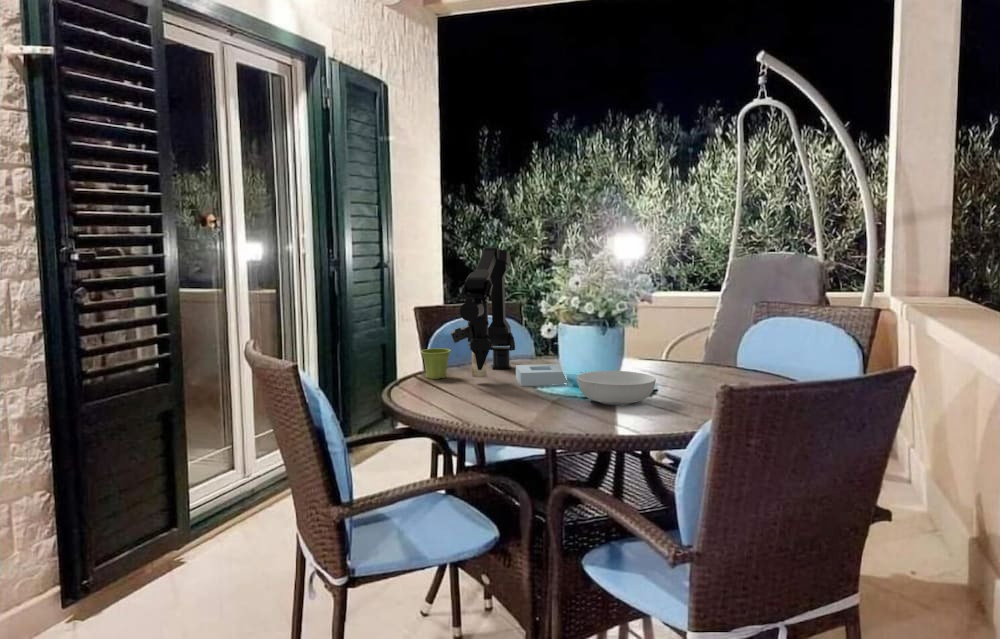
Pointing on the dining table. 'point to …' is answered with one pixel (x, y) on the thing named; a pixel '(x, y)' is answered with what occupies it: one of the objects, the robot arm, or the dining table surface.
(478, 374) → the birch peg
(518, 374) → the socket block
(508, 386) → the dining table surface
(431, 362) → the plant pot
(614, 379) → the serving bowl
